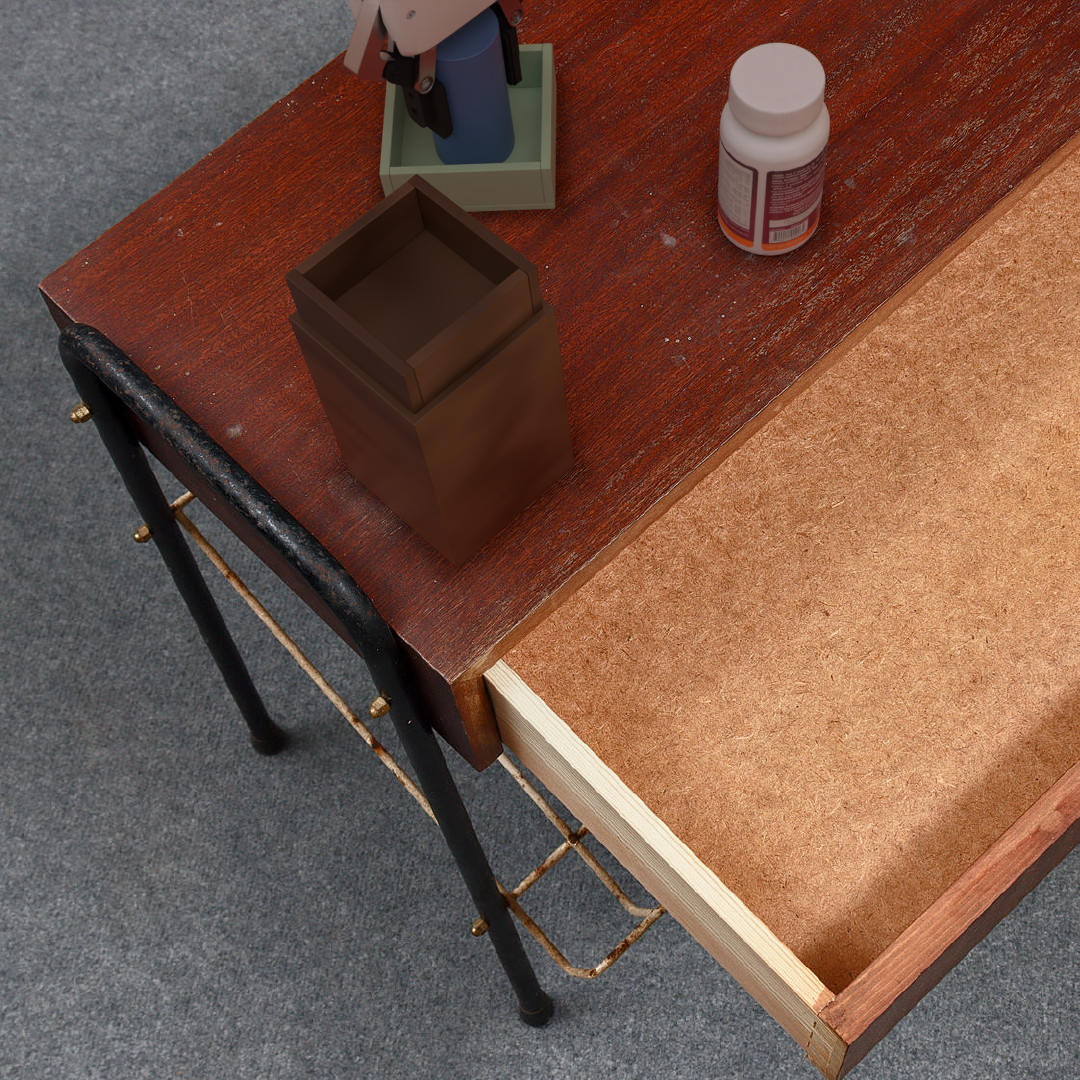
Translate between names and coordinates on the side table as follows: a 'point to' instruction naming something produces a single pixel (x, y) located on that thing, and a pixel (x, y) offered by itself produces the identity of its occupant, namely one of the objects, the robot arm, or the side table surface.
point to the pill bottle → (773, 149)
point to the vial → (475, 94)
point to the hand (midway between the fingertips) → (466, 96)
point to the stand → (435, 366)
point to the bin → (493, 184)
